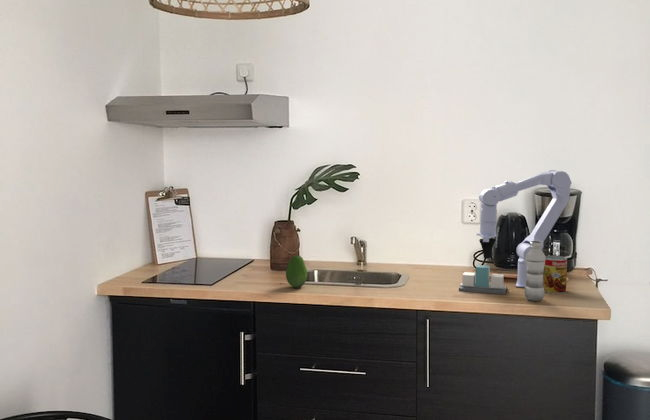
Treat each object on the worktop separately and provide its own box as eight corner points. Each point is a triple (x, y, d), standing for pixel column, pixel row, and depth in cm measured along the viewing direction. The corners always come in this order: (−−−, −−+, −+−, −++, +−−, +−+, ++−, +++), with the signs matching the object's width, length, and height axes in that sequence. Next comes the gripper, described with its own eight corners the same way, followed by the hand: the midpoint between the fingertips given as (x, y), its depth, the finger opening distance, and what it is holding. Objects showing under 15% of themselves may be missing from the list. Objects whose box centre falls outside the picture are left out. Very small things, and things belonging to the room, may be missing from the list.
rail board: (506, 288, 229) (507, 273, 228) (504, 294, 220) (505, 278, 220) (462, 285, 234) (462, 270, 234) (458, 290, 226) (458, 275, 225)
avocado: (310, 285, 236) (309, 254, 235) (302, 290, 229) (302, 258, 228) (290, 284, 239) (290, 253, 238) (282, 288, 232) (281, 256, 230)
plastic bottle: (539, 297, 215) (541, 240, 213) (547, 302, 209) (549, 243, 206) (521, 298, 215) (522, 240, 213) (528, 303, 208) (530, 243, 206)
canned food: (557, 294, 219) (558, 260, 218) (538, 290, 225) (539, 257, 224) (570, 291, 224) (571, 258, 222) (551, 287, 230) (552, 254, 229)
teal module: (489, 284, 228) (489, 265, 227) (488, 287, 225) (488, 267, 224) (476, 283, 230) (477, 265, 229) (475, 286, 226) (475, 267, 225)
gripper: (479, 218, 238) (478, 254, 239) (474, 223, 224) (473, 261, 226) (498, 219, 235) (497, 255, 237) (495, 224, 222) (493, 262, 223)
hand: (487, 258), depth 231 cm, fingers closed
